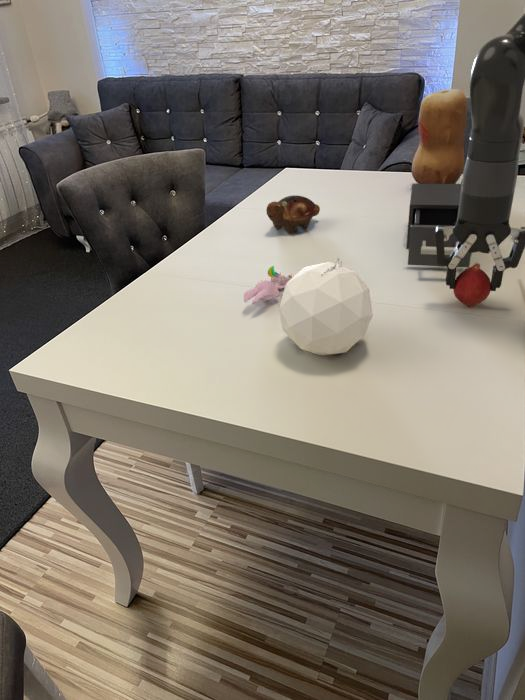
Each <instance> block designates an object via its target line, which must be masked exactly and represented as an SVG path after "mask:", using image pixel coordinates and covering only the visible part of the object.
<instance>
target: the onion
mask: <svg viewBox="0 0 525 700" xmlns="http://www.w3.org/2000/svg"><path fill="white" fill-rule="evenodd" d="M491 292H492V291H491V279H490V277H489V275H488V274H487V273H486V272H485V271H484V270H483V269H482V268H481V264H480V263H478V262H476V263H474V264H472V265H471V266H469V267H466V268H465V269H463V270H462V271H461V272H460V273H459V274H458V275H456V278H455V286H454V289H453V295H454V297H455V298H456V299H457V300H458V301H459V302H460V303H461V304H463V305H465V306H466V307H468V308H474V306H477V305H479V304H481V303H482V302H484V301H485V300H486V299H488V297H489V295H490V293H491Z"/></svg>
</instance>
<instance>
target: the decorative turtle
mask: <svg viewBox="0 0 525 700" xmlns="http://www.w3.org/2000/svg"><path fill="white" fill-rule="evenodd" d="M320 211H321V208H320V206H319V205H318V203H317V204H316V203H315V202H314V201H313V200H311V199H310V198H308V197H306V196H302V195H297V194H295V195H294V194H293V195H288V196H285V197H283V198H281V199H280V200H279V201H271V202H269V203H268V204H267V206H266V211H265V212H266V216H267V217H268V219H269V220H270V221H271V222H272V225H273V227H274V228H275V229H276V230H281V229H282V228H283V229H284V230H285V232H286V233H287V234H289V235H292V234H294V233H295V231H296V230H297V229H298V227H299V228H301V229H302V230H308V227H309V226H310V223H311V221H312V219H313V218H314V217H316V216H318V215H319V213H320Z"/></svg>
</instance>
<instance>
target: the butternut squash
mask: <svg viewBox="0 0 525 700" xmlns="http://www.w3.org/2000/svg"><path fill="white" fill-rule="evenodd" d="M467 113H468V99H467V97H466V95H465V93H464V92H463V91H462V90H461V89H459V88H450V89H449V88H448V89H443V90H438V91H437V90H436V91H434V92H432V93H429V94H428V95H426V96H425V97H424V98H423V99H422V101H421V102H420V108H419V113H418V114H419V115H418V120H417V121H418V134H419V135H418V136H419V145H418V147H417V149H416V151H415V154H414V155H413V159H412V163H411V176H412V178H413V179H414V181H415V182H416V184H457V183H458V181H459V180H460V179H461V177H462V176H463V172H464V167H465V164H466V159H465V149H464V139H465V138H464V137H465V132H466V126H467V117H468V116H467V115H468V114H467Z"/></svg>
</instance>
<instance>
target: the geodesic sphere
mask: <svg viewBox="0 0 525 700" xmlns="http://www.w3.org/2000/svg"><path fill="white" fill-rule="evenodd" d="M342 262H343V261H340V257H339V256H338V257H337V258H336V263H335V262H332V261H327V262H322V263H317V264H312V265H307V266H304V267H303V268H302V269H300V270H299V271H298V272H297V273H296V274H295V275H294V276H292V279H290V280H289V281H288V282H287V283H286V286H285V288H283V293H282V297H281V300H280V304H279V306H278V309H279V310H278V311H279V315H280V316H279V317H280V323H281V328H282V331H283V332H284V334H286V335H287V336H288V337H289V339H290V340H292V341H293V343H294V344H295V345H296V346H297V347H298V348H299V349H300V350H302V351H306V352H309V353H311V354H316V355H318V356H328V355H330V356H331V355H337V354H344V353H347V352H348V351H349V350H350V349H351V348H353V346H354V345H356V344H357V343H358V342H359V341H360V340H361V339H362V338H363V337H364V336H365V335H366V332H367V330H368V327H369V325H370V323H371V321H372V319H373V317H374V312H373V307H372V300H371V291H370V288H369V287H368V285H367V284H366V283H365V282H364V281H363V280H362V279H361V277H360V276H359V275H358V274H357V273H356V271H355V270H352V269H349V268H347V267H345V266H342Z"/></svg>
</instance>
